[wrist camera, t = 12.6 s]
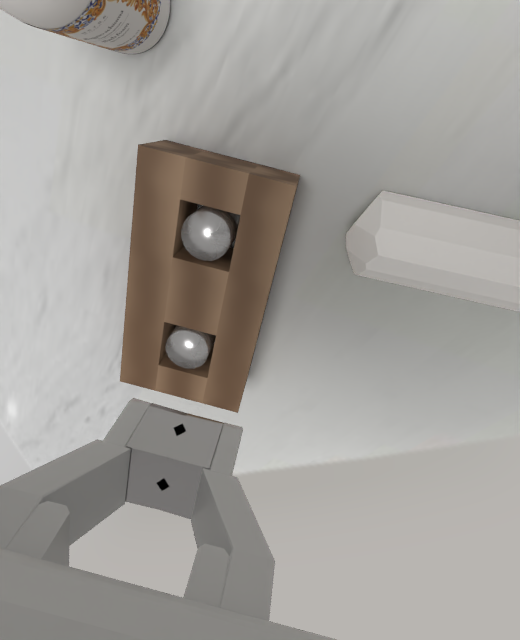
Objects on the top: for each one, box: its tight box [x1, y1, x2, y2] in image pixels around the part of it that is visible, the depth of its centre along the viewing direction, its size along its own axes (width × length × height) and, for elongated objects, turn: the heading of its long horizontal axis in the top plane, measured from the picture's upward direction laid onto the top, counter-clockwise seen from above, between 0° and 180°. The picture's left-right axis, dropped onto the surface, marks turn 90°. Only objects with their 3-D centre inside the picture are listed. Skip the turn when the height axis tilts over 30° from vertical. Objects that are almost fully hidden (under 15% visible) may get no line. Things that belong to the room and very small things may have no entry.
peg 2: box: [166, 325, 216, 369], centre depth 40 cm, size 4×4×6 cm
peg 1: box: [181, 205, 240, 261], centre depth 35 cm, size 4×4×6 cm
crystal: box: [346, 191, 520, 312], centre depth 35 cm, size 7×7×24 cm
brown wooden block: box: [120, 140, 300, 413], centre depth 38 cm, size 12×22×6 cm, turn 167°
